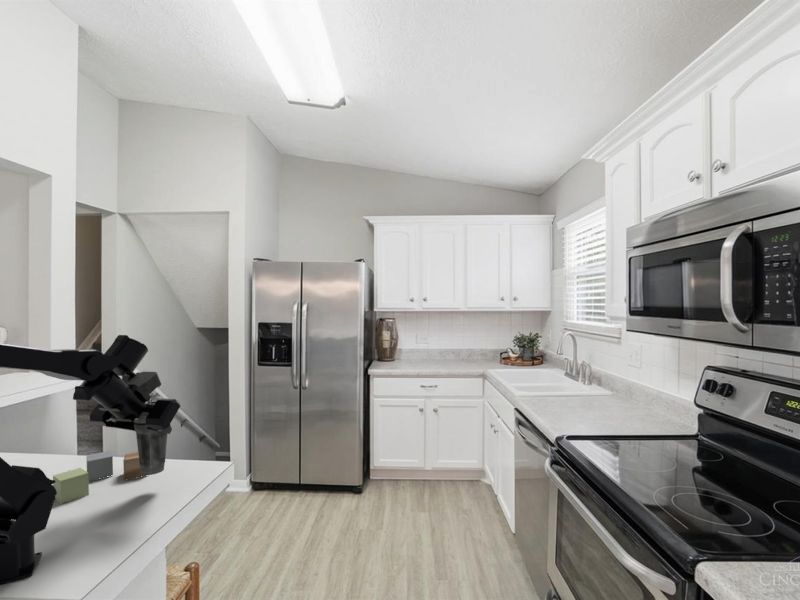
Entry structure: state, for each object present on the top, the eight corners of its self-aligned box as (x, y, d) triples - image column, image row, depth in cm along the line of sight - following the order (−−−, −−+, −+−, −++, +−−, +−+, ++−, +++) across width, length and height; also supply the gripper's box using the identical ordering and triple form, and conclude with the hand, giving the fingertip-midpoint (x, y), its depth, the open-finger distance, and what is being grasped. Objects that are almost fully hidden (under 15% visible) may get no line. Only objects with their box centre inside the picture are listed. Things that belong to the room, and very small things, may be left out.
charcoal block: (112, 476, 102) (112, 456, 102) (87, 482, 99) (87, 461, 99) (111, 470, 106) (110, 450, 106) (86, 475, 103) (86, 455, 103)
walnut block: (148, 476, 102) (147, 455, 102) (123, 480, 100) (123, 460, 100) (148, 468, 106) (148, 449, 106) (125, 473, 104) (125, 453, 104)
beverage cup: (178, 466, 96) (177, 380, 96) (152, 479, 89) (150, 386, 89) (153, 463, 98) (152, 378, 98) (125, 476, 91) (124, 385, 91)
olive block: (88, 495, 93) (88, 472, 93) (60, 504, 88) (60, 481, 88) (80, 489, 95) (80, 467, 95) (53, 498, 91) (52, 475, 91)
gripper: (173, 362, 88) (208, 401, 98) (101, 360, 92) (143, 398, 102) (142, 408, 80) (185, 446, 91) (66, 404, 84) (115, 441, 95)
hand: (157, 431), depth 95 cm, fingers closed on beverage cup, 7 cm apart
